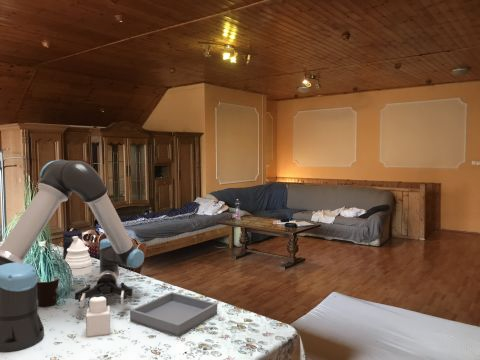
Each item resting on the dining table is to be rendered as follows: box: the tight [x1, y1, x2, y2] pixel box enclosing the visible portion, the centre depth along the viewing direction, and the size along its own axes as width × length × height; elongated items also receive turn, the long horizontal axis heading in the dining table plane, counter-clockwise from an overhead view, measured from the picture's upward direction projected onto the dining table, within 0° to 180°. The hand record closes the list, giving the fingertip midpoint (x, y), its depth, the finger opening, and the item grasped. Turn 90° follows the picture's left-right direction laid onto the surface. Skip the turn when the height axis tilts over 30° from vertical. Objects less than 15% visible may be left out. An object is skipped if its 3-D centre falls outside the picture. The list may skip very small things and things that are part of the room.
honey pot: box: [65, 236, 93, 277], centre depth 194 cm, size 13×13×18 cm
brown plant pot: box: [37, 275, 60, 308], centre depth 155 cm, size 12×9×10 cm
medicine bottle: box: [85, 294, 111, 338], centre depth 131 cm, size 7×7×12 cm
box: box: [129, 291, 218, 338], centre depth 143 cm, size 22×22×4 cm
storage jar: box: [62, 230, 83, 259], centre depth 217 cm, size 10×10×15 cm
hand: (101, 302), depth 140 cm, fingers open, 13 cm apart
